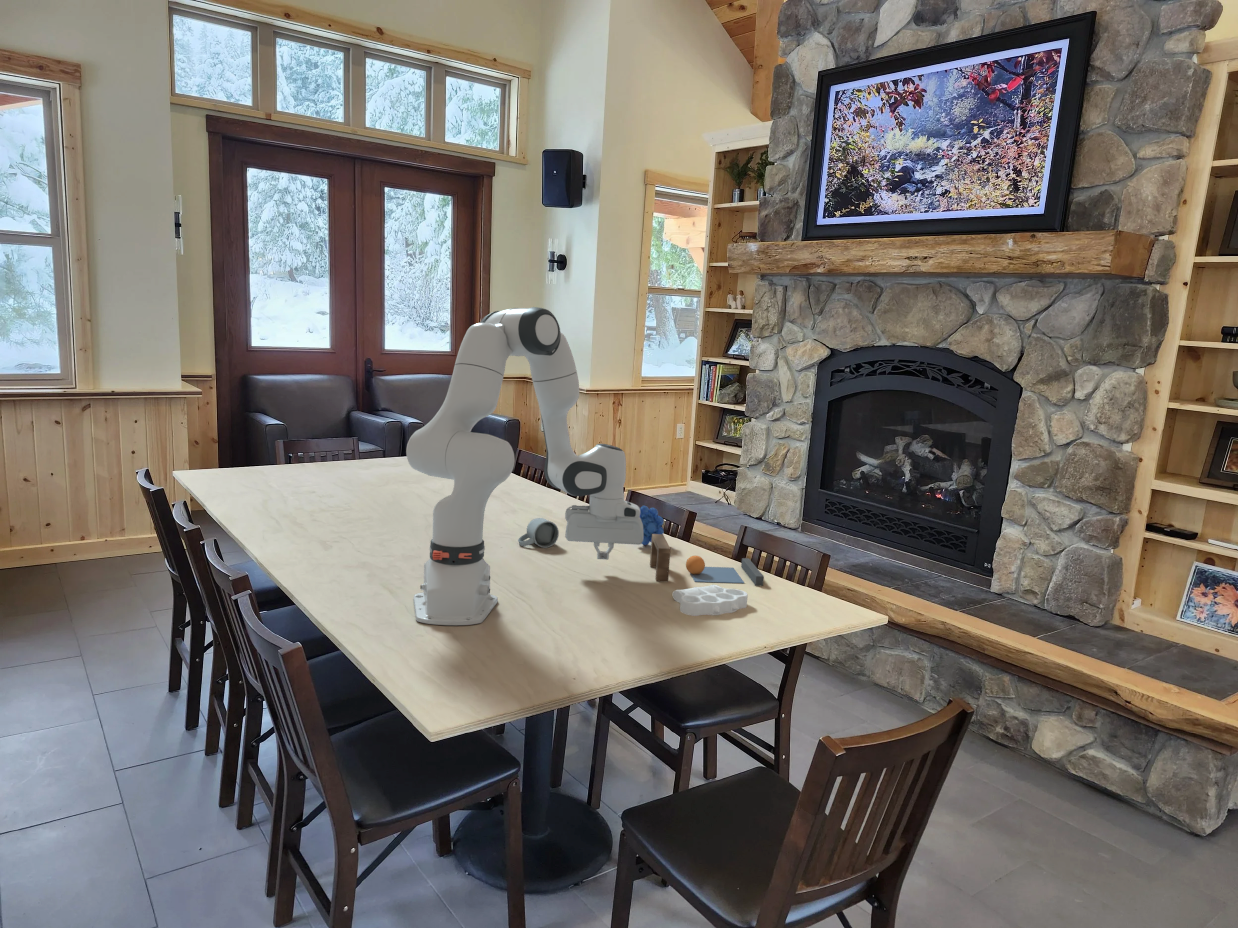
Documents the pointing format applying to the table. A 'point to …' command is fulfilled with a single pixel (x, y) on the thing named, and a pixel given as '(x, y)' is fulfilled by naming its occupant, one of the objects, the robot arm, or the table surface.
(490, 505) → the table surface
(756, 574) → the rail
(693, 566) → the ball
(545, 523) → the ceramic mug
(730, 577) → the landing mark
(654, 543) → the bridge
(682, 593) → the white paint palette
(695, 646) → the table surface
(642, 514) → the blue flower
